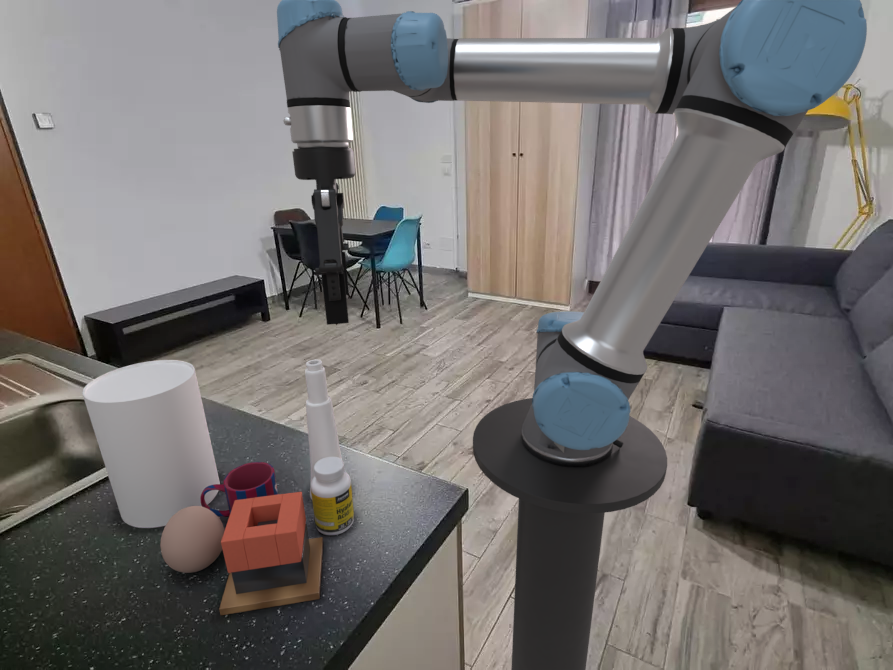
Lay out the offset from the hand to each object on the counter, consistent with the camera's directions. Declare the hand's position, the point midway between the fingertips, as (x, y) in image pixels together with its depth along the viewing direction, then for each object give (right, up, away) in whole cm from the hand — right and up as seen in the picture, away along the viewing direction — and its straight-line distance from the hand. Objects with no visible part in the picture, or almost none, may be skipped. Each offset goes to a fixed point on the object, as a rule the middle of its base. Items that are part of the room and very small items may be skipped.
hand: (339, 307), depth 68 cm
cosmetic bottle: (-3, -28, +7) cm, 29 cm away
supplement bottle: (-1, -31, +1) cm, 31 cm away
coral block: (-6, -29, -10) cm, 31 cm away
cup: (-14, -30, +2) cm, 34 cm away
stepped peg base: (-6, -34, -8) cm, 35 cm away
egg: (-17, -34, -6) cm, 38 cm away
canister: (-27, -29, +7) cm, 40 cm away
